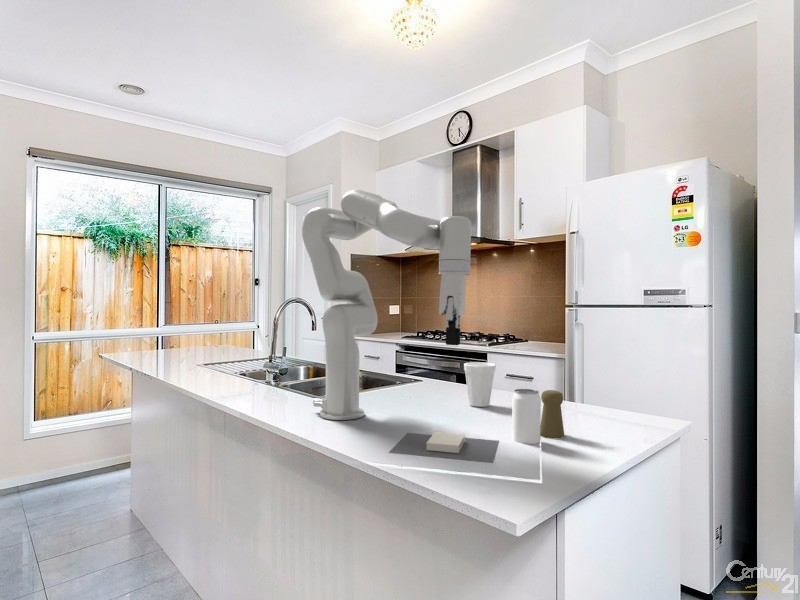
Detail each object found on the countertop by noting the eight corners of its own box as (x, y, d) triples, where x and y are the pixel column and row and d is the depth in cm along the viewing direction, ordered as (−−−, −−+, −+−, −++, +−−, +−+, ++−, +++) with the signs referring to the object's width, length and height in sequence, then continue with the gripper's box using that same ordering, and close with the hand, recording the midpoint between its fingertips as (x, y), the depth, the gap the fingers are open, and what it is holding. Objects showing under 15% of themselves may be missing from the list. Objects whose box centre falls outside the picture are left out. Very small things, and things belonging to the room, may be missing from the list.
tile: (434, 439, 114) (426, 450, 106) (435, 431, 114) (426, 442, 106) (464, 441, 112) (458, 453, 104) (464, 434, 112) (458, 445, 104)
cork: (551, 439, 117) (552, 393, 117) (533, 433, 122) (534, 389, 122) (570, 436, 120) (570, 391, 120) (551, 430, 125) (552, 387, 125)
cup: (475, 400, 161) (475, 361, 161) (501, 405, 154) (502, 364, 154) (456, 405, 153) (457, 364, 153) (483, 410, 146) (483, 367, 146)
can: (535, 447, 110) (536, 394, 110) (508, 443, 114) (508, 391, 114) (543, 440, 116) (544, 390, 116) (517, 436, 119) (517, 387, 119)
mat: (388, 455, 104) (388, 452, 104) (407, 435, 120) (407, 432, 120) (493, 465, 98) (493, 462, 98) (499, 443, 114) (499, 440, 114)
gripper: (444, 270, 126) (443, 341, 126) (432, 266, 111) (431, 347, 111) (474, 270, 124) (472, 342, 124) (465, 266, 109) (463, 348, 109)
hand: (452, 344), depth 118 cm, fingers closed
